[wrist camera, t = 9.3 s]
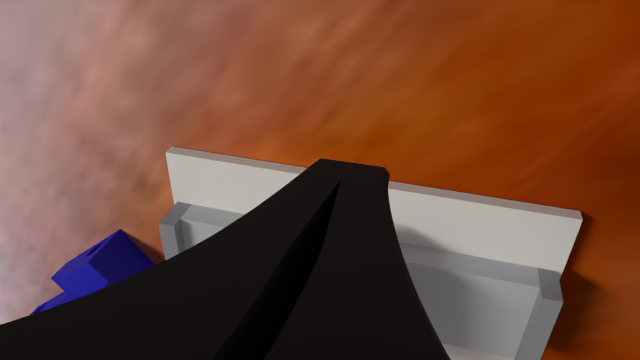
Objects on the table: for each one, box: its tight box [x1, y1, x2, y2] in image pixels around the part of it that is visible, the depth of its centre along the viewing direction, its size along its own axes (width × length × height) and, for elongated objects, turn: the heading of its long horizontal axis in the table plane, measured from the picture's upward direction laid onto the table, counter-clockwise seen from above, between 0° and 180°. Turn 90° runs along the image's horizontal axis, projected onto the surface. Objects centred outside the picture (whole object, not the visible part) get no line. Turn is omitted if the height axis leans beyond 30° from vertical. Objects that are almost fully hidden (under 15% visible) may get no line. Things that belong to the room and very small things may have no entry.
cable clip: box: [30, 229, 155, 315], centre depth 29 cm, size 12×4×6 cm, turn 127°
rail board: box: [158, 147, 583, 360], centre depth 23 cm, size 18×10×2 cm, turn 88°
